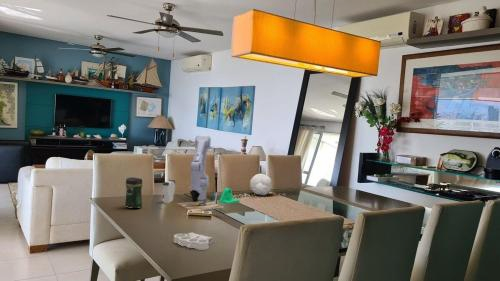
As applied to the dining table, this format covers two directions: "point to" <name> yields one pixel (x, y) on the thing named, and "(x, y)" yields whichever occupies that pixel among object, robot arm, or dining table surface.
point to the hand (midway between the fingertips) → (194, 202)
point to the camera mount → (228, 197)
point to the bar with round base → (196, 203)
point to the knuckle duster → (193, 240)
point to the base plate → (196, 207)
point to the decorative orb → (260, 184)
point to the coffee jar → (133, 192)
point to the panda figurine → (168, 191)
